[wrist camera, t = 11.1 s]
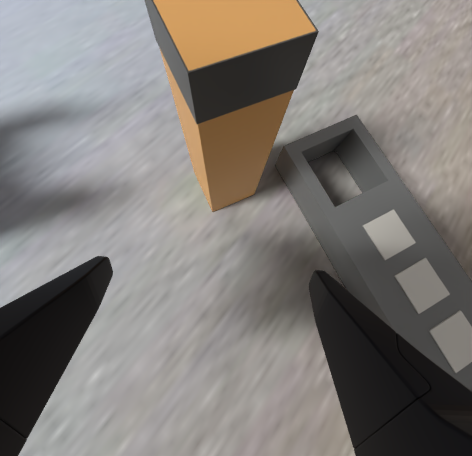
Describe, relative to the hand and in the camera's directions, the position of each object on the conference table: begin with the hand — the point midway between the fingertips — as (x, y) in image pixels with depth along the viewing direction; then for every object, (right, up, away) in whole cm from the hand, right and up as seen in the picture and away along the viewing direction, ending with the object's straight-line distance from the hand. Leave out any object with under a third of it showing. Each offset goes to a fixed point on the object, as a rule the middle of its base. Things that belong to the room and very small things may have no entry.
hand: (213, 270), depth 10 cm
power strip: (+13, -1, +9) cm, 16 cm away
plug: (0, +6, +10) cm, 11 cm away
